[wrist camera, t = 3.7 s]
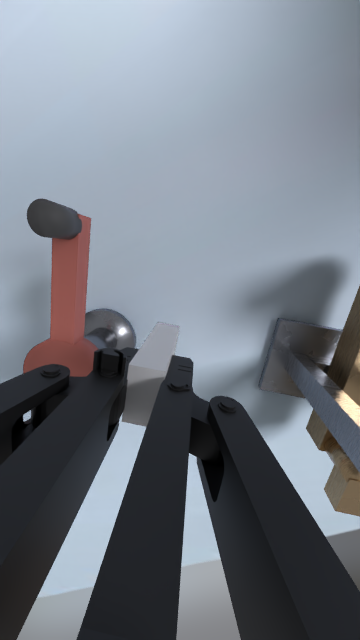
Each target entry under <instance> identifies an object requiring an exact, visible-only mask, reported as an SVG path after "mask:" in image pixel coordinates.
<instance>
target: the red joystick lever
mask: <svg viewBox="0 0 360 640" xmlns="http://www.w3.org/2000/svg"><path fill="white" fill-rule="evenodd" d="M27 220H28V223H29V225H30V227H31V229H32V230H33V231H34V232H35V233H36V234H38V235H40V236H43V237H49V238H52V279H51V331H50V338H49V339H47V340H45V341H44V342H42V343H40V344H38V345H36V346H35V347H33V348H32V349H31V350H30V351H29V353H28V354H27V356H26V358H25V361H24V365H23V373H26V372H29V371H31V370H33V369H35V368H38V367H41V366H44V365H50V364H59V365H63V366H66V367H68V368H69V369H70V376H76V377H83V376H87V375H88V374H89V373H90V372H91V371H92V370H93V361H94V351H96V350H98V348H97V347H96V346H95V345H94V344H93V343H92V342H90V341H89V340H88V339H86V338H84V326H85V310H86V293H87V277H88V260H89V244H90V227H91V218H89V217H86V216H83V215H80V214H78V213H77V212H76V211H75V210H73V209H71V208H68V207H66V206H63V205H60V204H57V203H55V202H52V201H49V200H46V199H37V200H35V201H33V202H32V203H31V204H30V206H29V208H28V211H27Z"/></svg>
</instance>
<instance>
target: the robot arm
mask: <svg viewBox="0 0 360 640" xmlns="http://www.w3.org/2000/svg"><path fill="white" fill-rule="evenodd" d="M179 328H180V326H176V325H171V324H166V323H160V322H157V324H156V325H155V327H154V328H153V330H152V331H151V333H150V334H149V336H148V337H147V339H146V340H145V341H144V343H143V344H142V346H141V347H140V349H135V348H130V347H126V348H124V349H121V350H119V349H115V348H102V349H98V350H96V351H94V361H93V370H92V371H91V372H90V373H89V374H88V375H87V376H83V377H76V376H70V369H69V368H68V367H66V366H63V365H59V364H50V365H44V366H41V367H38V368H35V369H33V370H31V371H29V372H26V373H24V374H22V375H20V376H17V377H15V378H13V379H11V380H8V381H6V382H4V383H2V384H0V640H16V639H17V637H18V635H19V633H20V631H21V629H22V627H23V625H24V623H25V620H26V619H27V616H28V614H29V612H30V610H31V608H32V606H33V604H34V602H35V600H36V598H37V596H38V594H39V592H40V590H41V588H42V586H43V584H44V581H45V579H46V577H47V575H48V573H49V571H50V569H51V567H52V565H53V563H54V561H55V559H56V557H57V555H58V552H59V550H60V548H61V546H62V544H63V542H64V540H65V538H66V536H67V534H68V532H69V530H70V528H71V526H72V523H73V521H74V519H75V517H76V515H77V513H78V511H79V509H80V507H81V505H82V503H83V501H84V499H85V497H86V495H87V492H88V490H89V488H90V486H91V484H92V482H93V480H94V478H95V476H96V474H97V472H98V470H99V468H100V466H101V463H102V461H103V459H104V457H105V455H106V453H107V451H108V449H109V447H110V445H111V443H112V441H113V439H114V437H115V434H116V432H117V430H118V426H119V419H120V417H121V415H122V413H123V416H122V422H127V423H132V424H136V425H141V426H146V430H145V434H144V437H143V440H142V443H141V446H140V449H139V452H138V455H137V458H136V461H135V464H134V467H133V470H132V473H131V476H130V479H129V482H128V485H127V488H126V491H125V494H124V497H123V500H122V504H121V507H120V510H119V513H118V516H117V519H116V522H115V525H114V528H113V531H112V534H111V537H110V540H109V543H108V546H107V549H106V552H105V555H104V558H103V561H102V564H101V567H100V570H99V574H98V577H97V580H96V583H95V586H94V589H93V592H92V595H91V598H90V601H89V604H88V607H87V610H86V613H85V616H84V619H83V622H82V625H81V628H80V631H79V634H78V637H77V640H176V634H177V620H178V619H177V618H178V604H179V590H180V589H179V588H180V574H181V560H182V546H183V531H184V516H185V501H186V487H187V472H188V457H189V453H190V454H192V455H194V456H196V457H197V465H198V469H199V473H200V477H201V481H202V485H203V489H204V493H205V497H206V501H207V505H208V509H209V513H210V517H211V521H212V525H213V529H214V533H215V537H216V541H217V545H218V549H219V553H220V557H221V561H222V565H223V569H224V573H225V577H226V581H227V585H228V589H229V593H230V597H231V601H232V605H233V609H234V613H235V617H236V621H237V626H238V630H239V633H240V637H241V640H360V591H359V590H358V588H357V586H356V585H355V583H354V582H353V580H352V579H351V577H350V575H349V574H348V572H347V571H346V569H345V567H344V566H343V564H342V563H341V561H340V560H339V558H338V556H337V555H336V553H335V552H334V550H333V548H332V547H331V545H330V544H329V542H328V541H327V539H326V537H325V536H324V534H323V533H322V531H321V529H320V528H319V526H318V525H317V523H316V521H315V520H314V518H313V517H312V515H311V513H310V512H309V510H308V509H307V507H306V506H305V504H304V502H303V501H302V499H301V498H300V496H299V494H298V493H297V491H296V490H295V488H294V487H293V485H292V483H291V482H290V480H289V479H288V477H287V475H286V474H285V472H284V471H283V469H282V467H281V466H280V464H279V463H278V461H277V460H276V458H275V456H274V455H273V453H272V452H271V450H270V448H269V447H268V445H267V444H266V442H265V441H264V439H263V437H262V436H261V434H260V433H259V431H258V429H257V428H256V426H255V425H254V423H253V421H252V420H251V418H250V417H249V415H248V414H247V412H246V410H245V409H244V407H243V406H242V405H241V404H240V403H239V402H237V401H236V400H234V399H232V398H230V397H224V396H216V397H214V398H212V399H211V400H210V402H207V401H205V400H203V399H201V398H199V397H198V396H196V395H195V394H194V392H193V388H192V377H193V362H192V360H191V359H190V358H185V357H180V356H175V351H176V345H177V339H178V334H179ZM30 410H31V418H30V419H29V420H27V421H25V422H23V414H25V413H27V412H28V411H30Z"/></svg>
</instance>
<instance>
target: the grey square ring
mask: <svg viewBox="0 0 360 640" xmlns="http://www.w3.org/2000/svg"><path fill="white" fill-rule="evenodd" d="M342 331H343V330H340V329H335V328H329V327H324V326H319V325H313V324H308V323H302V322H297V321H292V320H286V319H281V318H278V321H277V324H276V328H275V331H274V335H273V338H272V342H271V345H270V348H269V352H268V355H267V359H266V362H265V365H264V369H263V372H262V376H261V379H260V382H259V388H260V389H261V390H266V391H271V392H276V393H281V394H286V395H291V396H296V397H301V398H306V399H307V400H308V402H309V403H310V405H311V406H312V407H313V409H314V410H315V411H316V413H317V414H318V416H319V417H320V418H321V420H322V421H323V423H324V424H325V425H326V427H327V428H328V429H329V431H330V432H331V434H332V435H333V436H334V438H335V439H336V441H337V442H338V443H339V445H340V446H341V447H342V449H343V450H344V452H345V453H346V454H347V456H348V457H349V459H350V460H351V461H352V463H353V464H354V465H355V467H356V468H357V470H358V471H359V472H360V407H359V406H358V405H357V404H356V403H355V402H354V401H353V400H352V399H351V398H350V397H349V396H348V395H347V394H346V393H345V392H344V391H343V390H342V389H341V388H340V387H338V386H337V385H336V384H335V383H334V382H333V381H332V380H331V379H330V378H329V377H328V376H327V375H326V374H327V371H328V368H329V366H330V363H331V361H332V358H333V355H334V353H335V350H336V347H337V345H338V342H339V339H340V337H341V334H342Z"/></svg>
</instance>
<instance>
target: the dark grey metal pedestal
mask: <svg viewBox="0 0 360 640" xmlns="http://www.w3.org/2000/svg"><path fill="white" fill-rule="evenodd" d="M84 338H86V339H88V340H89V341H90V342H92V343H93V344H94V345H95V346H96V347H97V348H98V349H102V348H115V349H119V350H121V349H124V348H126V347H130V348H135V346H136V336H135V332H134V329H133V327H132V325H131V324H130V323H129V321H128V320H127V319H126V318H125V317H124V316H122V315H121V314H119V313H118V312H116V311H113V310H109V309H96V310H93V311H91V312H89V313H86V314H85V326H84Z"/></svg>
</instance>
